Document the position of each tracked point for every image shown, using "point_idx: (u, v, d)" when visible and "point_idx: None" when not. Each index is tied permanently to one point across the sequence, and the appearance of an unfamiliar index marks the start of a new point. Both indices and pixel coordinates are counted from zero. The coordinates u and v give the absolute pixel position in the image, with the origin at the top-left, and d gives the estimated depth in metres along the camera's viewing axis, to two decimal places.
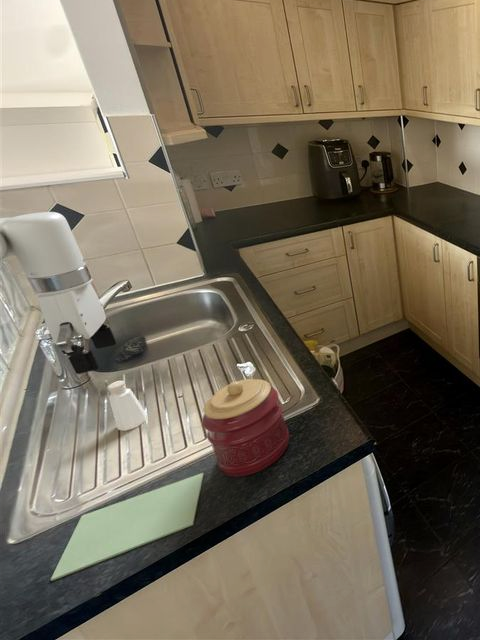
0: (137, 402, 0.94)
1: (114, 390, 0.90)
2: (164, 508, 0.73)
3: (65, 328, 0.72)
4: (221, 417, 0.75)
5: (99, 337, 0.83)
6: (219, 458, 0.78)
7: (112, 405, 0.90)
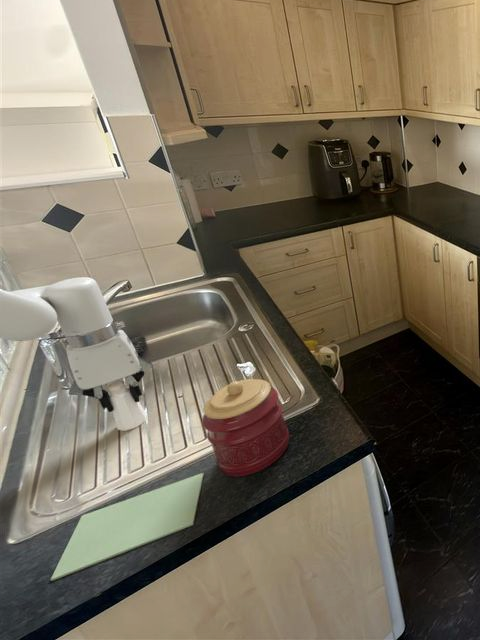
0: (137, 402, 0.94)
1: (114, 390, 0.90)
2: (164, 508, 0.73)
3: (74, 379, 0.86)
4: (221, 417, 0.75)
5: None
6: (219, 458, 0.78)
7: (112, 405, 0.90)
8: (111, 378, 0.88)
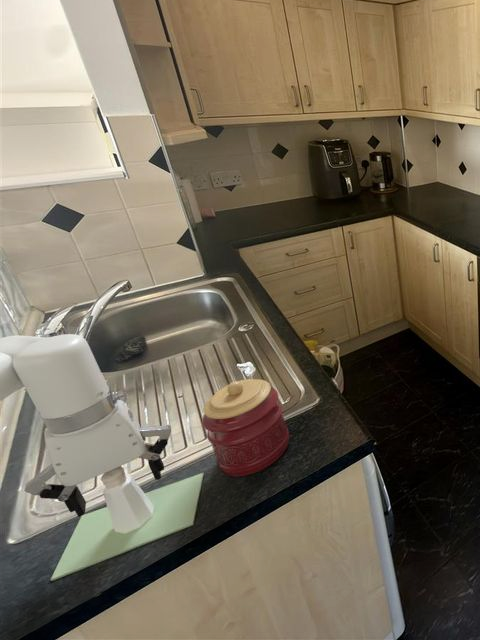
0: (141, 493, 0.71)
1: (110, 482, 0.67)
2: (164, 508, 0.73)
3: (46, 469, 0.62)
4: (221, 417, 0.75)
5: None
6: (219, 458, 0.78)
7: (107, 501, 0.67)
8: (107, 468, 0.65)
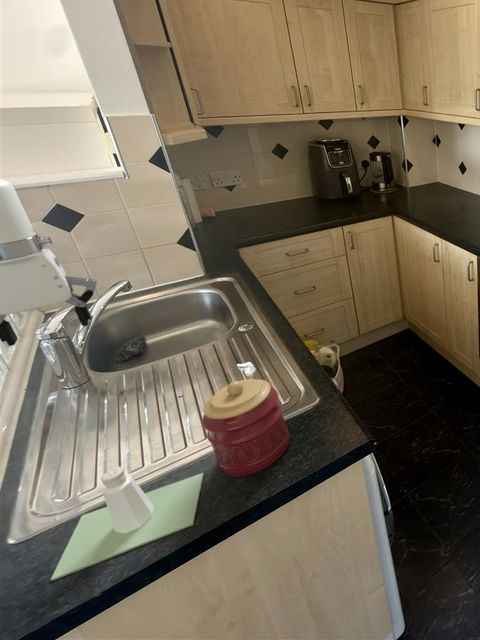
0: (141, 493, 0.71)
1: (110, 482, 0.67)
2: (164, 508, 0.73)
3: None
4: (221, 417, 0.75)
5: None
6: (219, 458, 0.78)
7: (107, 501, 0.67)
8: (34, 304, 0.74)
